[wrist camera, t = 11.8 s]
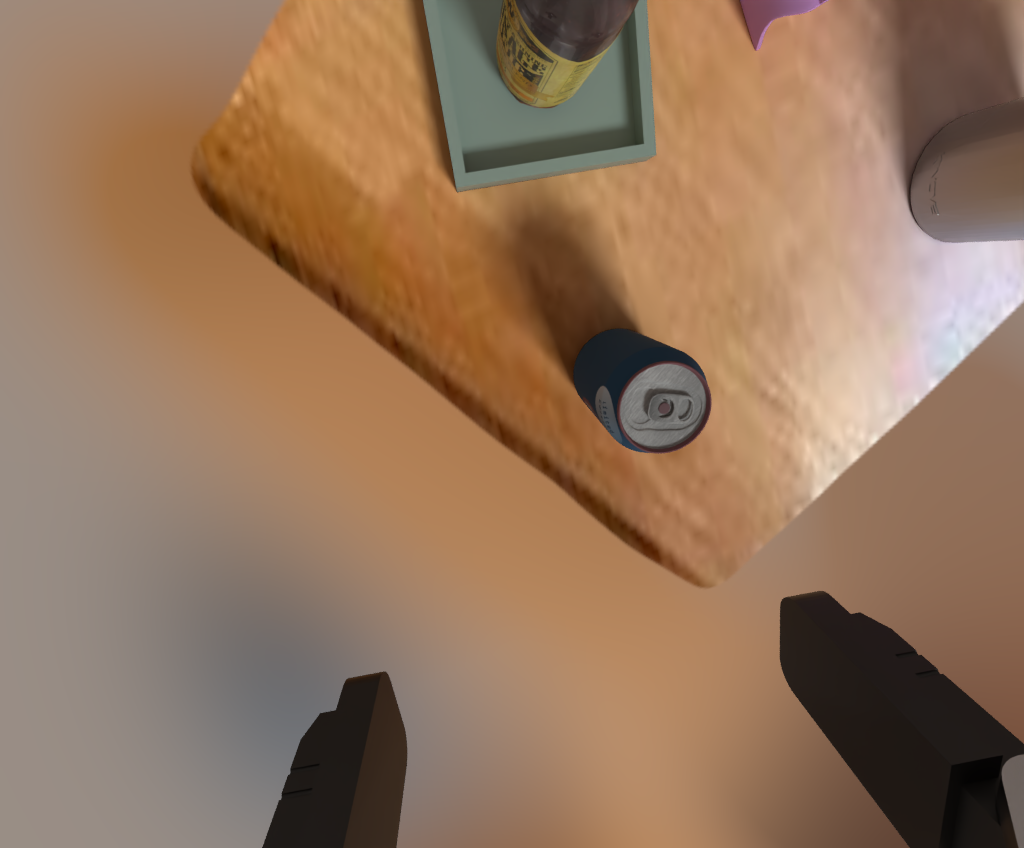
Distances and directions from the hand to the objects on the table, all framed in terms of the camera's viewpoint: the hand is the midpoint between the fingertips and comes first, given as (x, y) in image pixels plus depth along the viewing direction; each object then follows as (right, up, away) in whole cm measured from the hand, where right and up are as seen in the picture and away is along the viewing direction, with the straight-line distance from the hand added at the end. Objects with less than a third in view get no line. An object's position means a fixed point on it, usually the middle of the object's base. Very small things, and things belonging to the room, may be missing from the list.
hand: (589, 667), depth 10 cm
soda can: (+7, +10, +32) cm, 34 cm away
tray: (0, +30, +24) cm, 38 cm away
